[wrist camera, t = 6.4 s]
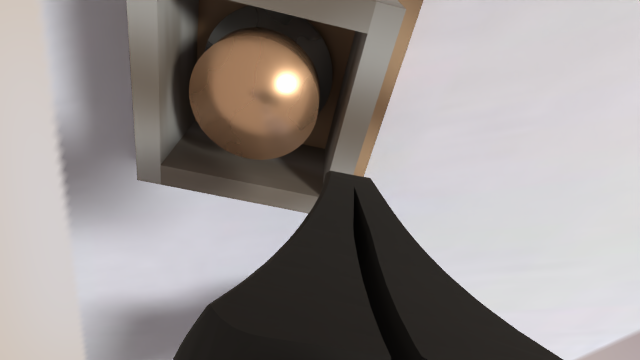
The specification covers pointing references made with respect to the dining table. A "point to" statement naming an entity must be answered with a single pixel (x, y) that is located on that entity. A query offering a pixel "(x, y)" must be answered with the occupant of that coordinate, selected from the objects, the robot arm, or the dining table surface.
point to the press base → (332, 121)
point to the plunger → (261, 83)
